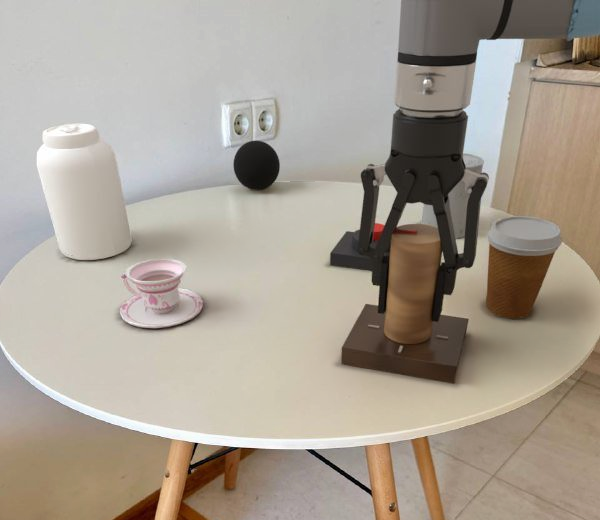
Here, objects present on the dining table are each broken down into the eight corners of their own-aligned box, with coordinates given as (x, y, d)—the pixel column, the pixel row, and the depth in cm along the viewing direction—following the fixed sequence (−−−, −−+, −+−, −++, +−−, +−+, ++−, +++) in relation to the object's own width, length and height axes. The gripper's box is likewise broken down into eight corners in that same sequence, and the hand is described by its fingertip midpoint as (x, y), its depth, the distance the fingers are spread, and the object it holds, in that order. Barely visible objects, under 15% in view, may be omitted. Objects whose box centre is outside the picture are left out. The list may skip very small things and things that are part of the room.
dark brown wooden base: (466, 334, 79) (469, 317, 78) (454, 383, 70) (457, 365, 69) (364, 319, 83) (365, 302, 82) (341, 364, 74) (341, 346, 73)
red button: (388, 234, 99) (388, 224, 98) (382, 243, 96) (383, 232, 95) (364, 231, 100) (365, 221, 99) (358, 240, 97) (359, 230, 96)
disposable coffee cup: (469, 318, 83) (484, 235, 76) (479, 289, 90) (493, 211, 83) (541, 329, 80) (563, 245, 73) (545, 299, 87) (566, 219, 80)
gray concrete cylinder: (441, 215, 116) (449, 149, 108) (483, 228, 110) (495, 159, 102) (409, 228, 110) (416, 160, 103) (452, 242, 105) (462, 171, 97)
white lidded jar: (55, 242, 108) (22, 124, 96) (123, 230, 112) (100, 115, 100) (67, 267, 99) (32, 141, 87) (140, 253, 103) (117, 130, 91)
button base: (413, 250, 102) (415, 228, 100) (401, 274, 95) (403, 250, 92) (346, 242, 106) (346, 221, 103) (329, 265, 98) (330, 242, 96)
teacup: (207, 289, 92) (202, 251, 88) (198, 328, 82) (192, 288, 78) (129, 291, 91) (122, 254, 88) (111, 331, 82) (102, 290, 78)
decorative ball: (289, 188, 131) (288, 140, 125) (255, 199, 125) (252, 149, 119) (260, 179, 137) (257, 133, 131) (226, 189, 131) (221, 141, 125)
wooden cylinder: (434, 324, 77) (448, 224, 69) (427, 347, 72) (440, 243, 64) (389, 317, 78) (397, 219, 70) (379, 339, 74) (386, 237, 66)
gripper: (330, 112, 60) (327, 315, 73) (528, 122, 54) (485, 339, 68) (349, 98, 65) (344, 289, 79) (531, 106, 60) (490, 309, 74)
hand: (409, 312), depth 74 cm, fingers closed on wooden cylinder, 6 cm apart
